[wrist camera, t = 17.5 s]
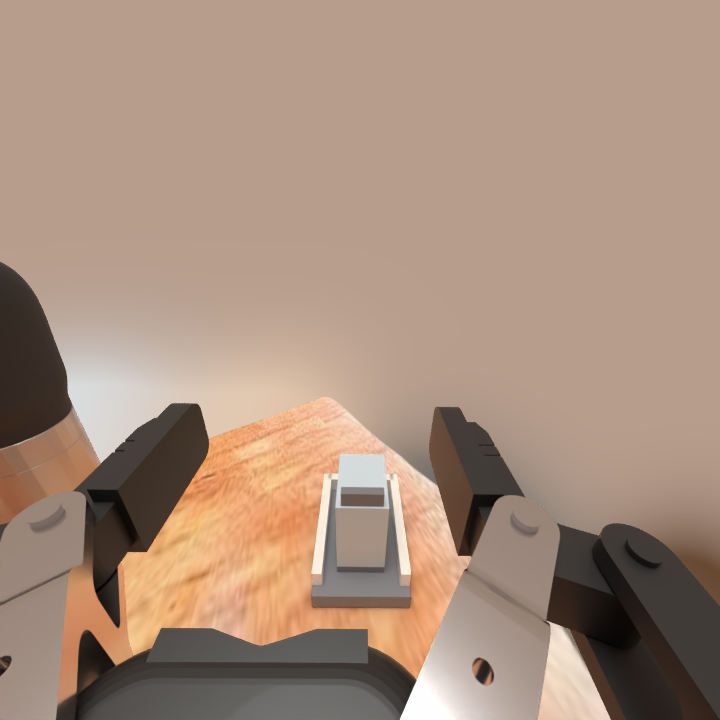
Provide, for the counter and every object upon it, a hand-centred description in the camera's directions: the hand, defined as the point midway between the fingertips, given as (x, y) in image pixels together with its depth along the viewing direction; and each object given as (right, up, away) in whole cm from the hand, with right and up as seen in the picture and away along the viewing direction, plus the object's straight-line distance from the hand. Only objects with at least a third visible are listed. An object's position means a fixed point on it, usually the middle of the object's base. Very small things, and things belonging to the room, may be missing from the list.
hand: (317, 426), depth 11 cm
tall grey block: (+2, -19, +25) cm, 32 cm away
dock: (+2, -20, +27) cm, 34 cm away
